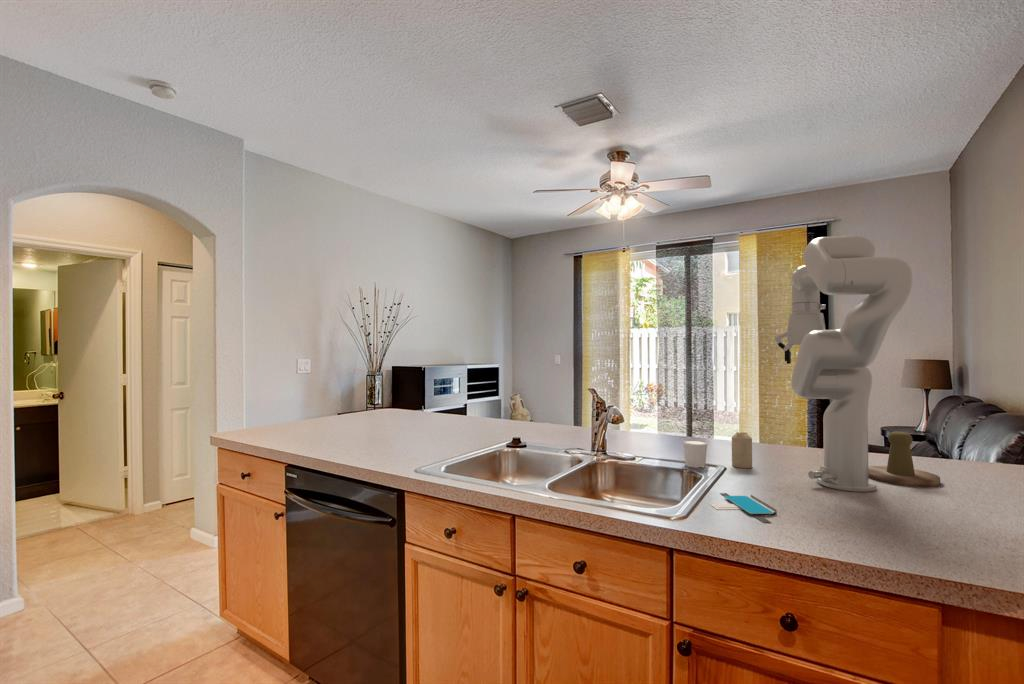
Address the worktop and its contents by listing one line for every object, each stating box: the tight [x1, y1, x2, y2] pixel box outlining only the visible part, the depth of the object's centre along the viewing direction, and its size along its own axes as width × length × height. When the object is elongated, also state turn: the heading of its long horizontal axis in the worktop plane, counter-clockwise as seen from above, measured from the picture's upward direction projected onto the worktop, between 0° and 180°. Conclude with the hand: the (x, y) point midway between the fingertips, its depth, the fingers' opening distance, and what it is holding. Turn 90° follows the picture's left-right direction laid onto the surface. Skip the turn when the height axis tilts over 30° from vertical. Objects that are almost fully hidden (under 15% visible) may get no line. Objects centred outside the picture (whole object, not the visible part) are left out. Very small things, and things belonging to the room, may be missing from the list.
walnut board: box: [868, 465, 941, 488], centre depth 132 cm, size 16×16×2 cm
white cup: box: [682, 440, 708, 469], centre depth 148 cm, size 7×7×7 cm
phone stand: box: [709, 492, 778, 523], centre depth 110 cm, size 20×12×2 cm, turn 1°
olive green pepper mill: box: [886, 431, 915, 476], centre depth 132 cm, size 6×6×11 cm
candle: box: [731, 431, 753, 469], centre depth 147 cm, size 6×6×10 cm
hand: (806, 363), depth 153 cm, fingers open, 9 cm apart
